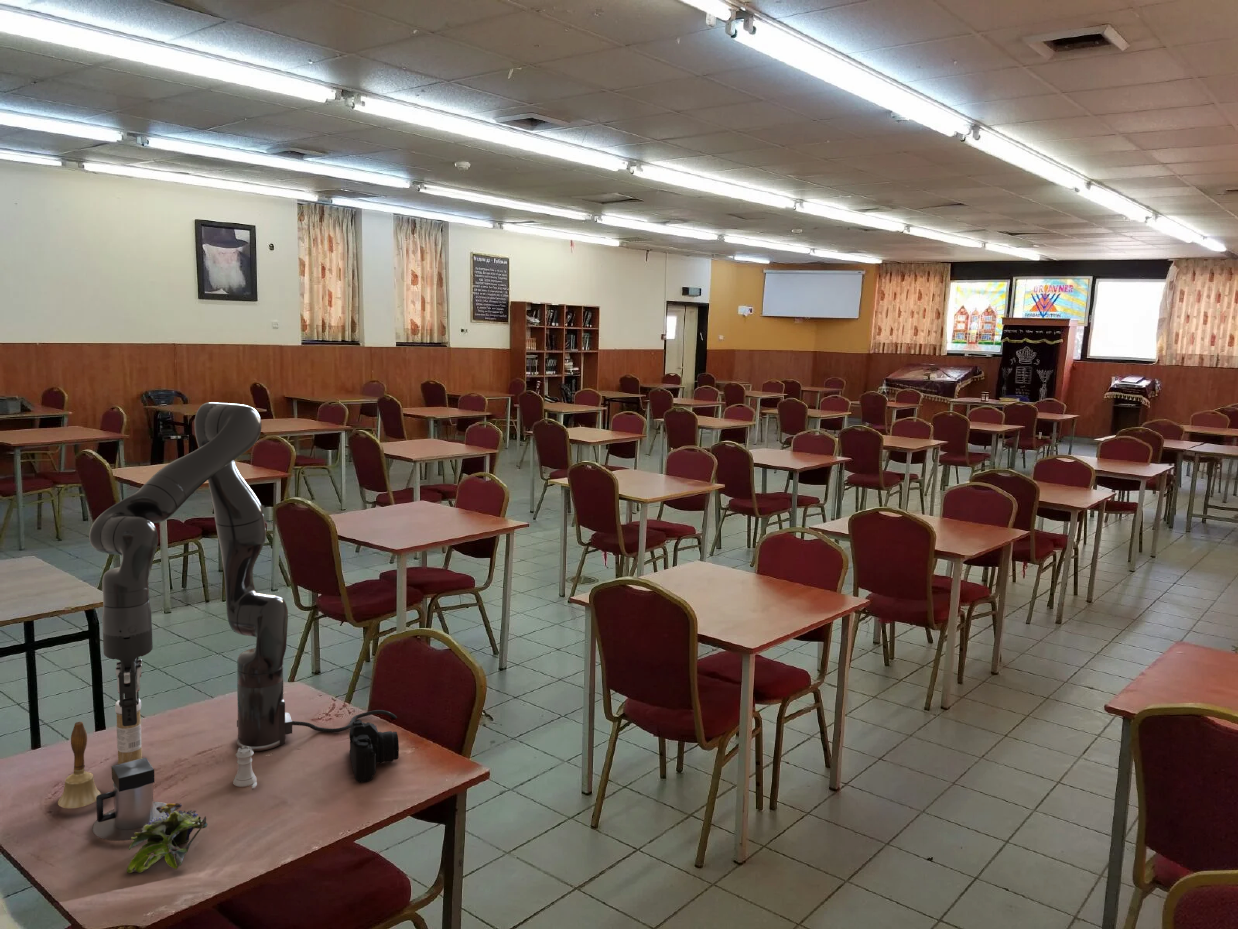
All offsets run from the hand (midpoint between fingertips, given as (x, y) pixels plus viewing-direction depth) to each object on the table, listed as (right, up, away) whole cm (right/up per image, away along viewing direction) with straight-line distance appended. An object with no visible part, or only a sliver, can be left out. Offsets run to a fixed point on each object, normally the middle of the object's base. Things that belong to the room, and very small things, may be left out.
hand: (130, 715), depth 156 cm
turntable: (-1, -21, +2) cm, 21 cm away
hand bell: (-14, -19, +9) cm, 25 cm away
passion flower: (+11, -23, -8) cm, 26 cm away
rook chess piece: (+13, -19, +17) cm, 29 cm away
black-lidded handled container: (-2, -20, +1) cm, 20 cm away
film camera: (+35, -19, +29) cm, 49 cm away
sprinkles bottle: (-14, -17, +25) cm, 33 cm away
